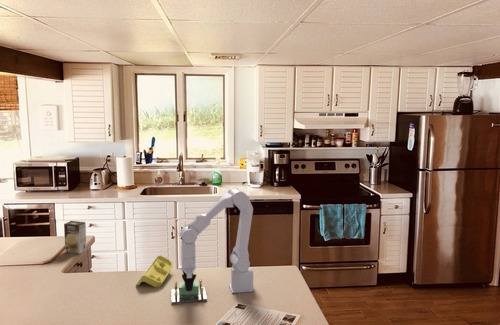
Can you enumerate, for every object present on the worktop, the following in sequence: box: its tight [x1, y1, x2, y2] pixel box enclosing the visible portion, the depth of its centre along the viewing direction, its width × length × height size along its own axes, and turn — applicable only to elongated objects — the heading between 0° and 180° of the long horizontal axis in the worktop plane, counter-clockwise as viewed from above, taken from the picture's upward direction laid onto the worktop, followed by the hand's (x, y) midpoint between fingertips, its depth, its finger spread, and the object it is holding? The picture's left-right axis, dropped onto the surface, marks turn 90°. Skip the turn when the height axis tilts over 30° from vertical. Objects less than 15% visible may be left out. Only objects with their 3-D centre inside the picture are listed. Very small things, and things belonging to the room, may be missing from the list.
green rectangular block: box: [178, 280, 200, 295], centre depth 155 cm, size 8×5×3 cm, turn 100°
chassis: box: [171, 279, 208, 305], centre depth 155 cm, size 14×11×5 cm
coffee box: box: [63, 220, 87, 255], centre depth 203 cm, size 9×6×16 cm
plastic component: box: [135, 254, 174, 288], centre depth 172 cm, size 20×7×10 cm
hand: (188, 287), depth 155 cm, fingers closed on green rectangular block, 5 cm apart
